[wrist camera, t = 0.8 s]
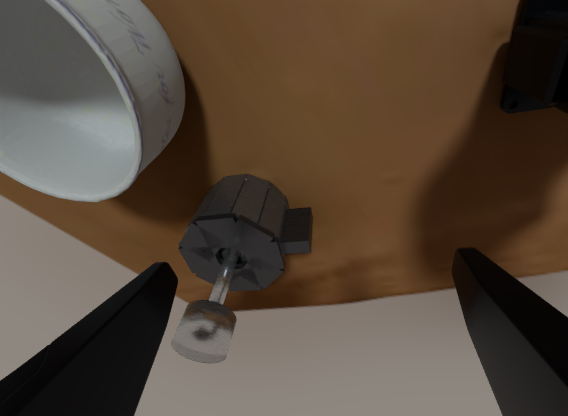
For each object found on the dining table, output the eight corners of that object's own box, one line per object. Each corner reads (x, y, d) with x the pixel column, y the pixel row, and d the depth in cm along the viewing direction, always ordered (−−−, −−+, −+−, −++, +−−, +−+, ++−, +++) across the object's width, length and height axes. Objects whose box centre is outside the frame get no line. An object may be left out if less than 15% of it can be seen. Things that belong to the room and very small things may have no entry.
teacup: (218, 142, 21) (171, 208, 15) (86, 146, 23) (-6, 206, 16) (151, -148, 13) (-19, -280, 7) (-49, -112, 14) (-343, -191, 8)
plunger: (257, 217, 20) (225, 324, 13) (273, 263, 22) (251, 371, 16) (197, 223, 21) (140, 325, 14) (218, 266, 23) (178, 369, 17)
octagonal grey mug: (305, 166, 21) (299, 211, 17) (318, 237, 26) (316, 288, 21) (194, 180, 23) (164, 224, 19) (223, 244, 28) (203, 292, 23)
